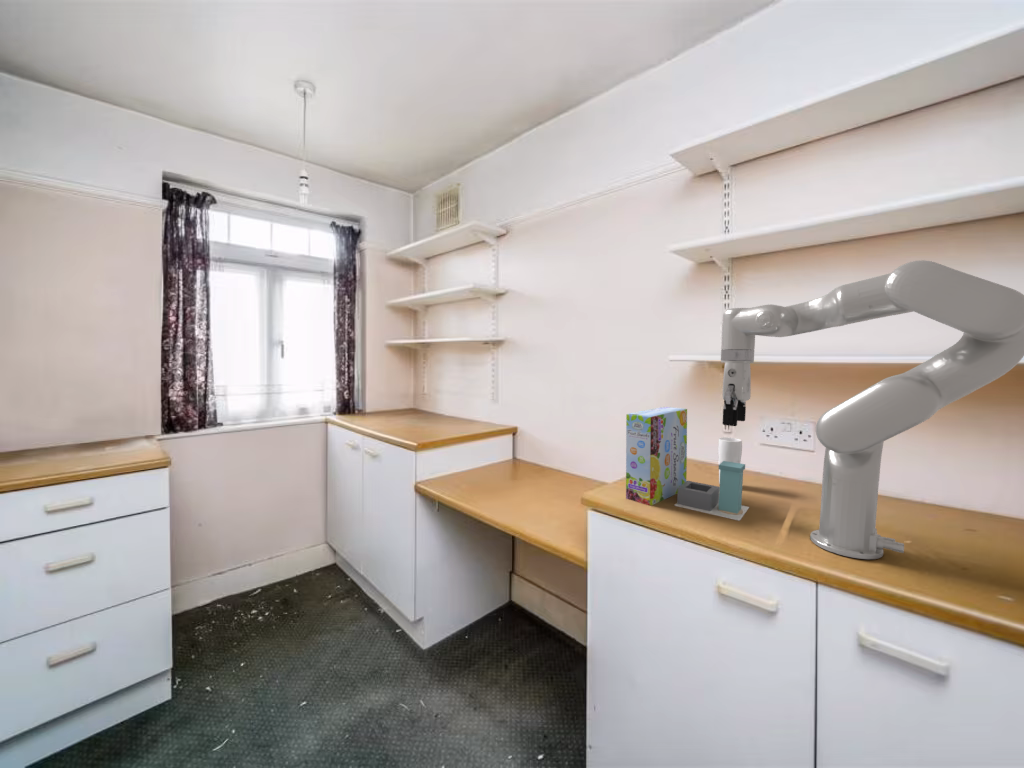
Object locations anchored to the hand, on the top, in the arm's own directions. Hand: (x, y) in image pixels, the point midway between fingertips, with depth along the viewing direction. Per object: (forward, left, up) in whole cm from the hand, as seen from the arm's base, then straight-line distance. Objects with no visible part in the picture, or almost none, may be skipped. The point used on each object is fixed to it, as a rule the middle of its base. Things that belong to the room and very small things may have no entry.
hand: (734, 422), depth 109 cm
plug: (0, 0, -23) cm, 23 cm away
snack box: (+20, -1, -24) cm, 32 cm away
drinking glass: (+6, -26, -24) cm, 36 cm away
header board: (+5, 0, -24) cm, 25 cm away
